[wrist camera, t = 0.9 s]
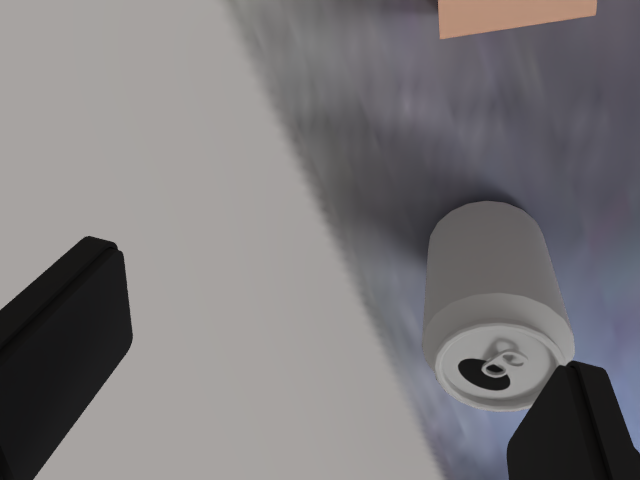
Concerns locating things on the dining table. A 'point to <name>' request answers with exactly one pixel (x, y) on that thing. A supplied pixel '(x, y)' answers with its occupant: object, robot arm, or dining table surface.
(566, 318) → the can
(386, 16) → the dining table surface
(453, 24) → the terracotta cube
